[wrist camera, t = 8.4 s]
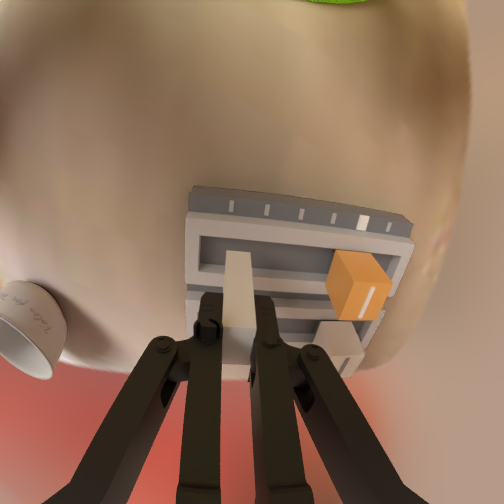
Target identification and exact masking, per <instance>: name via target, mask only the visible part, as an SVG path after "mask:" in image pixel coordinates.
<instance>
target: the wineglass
mask: <svg viewBox="0 0 504 504" xmlns="http://www.w3.org/2000/svg"><path fill="white" fill-rule="evenodd" d="M308 1H312V2H323V3H335V4H346V3H357V2H364V1H367V0H308Z"/></svg>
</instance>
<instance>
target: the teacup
mask: <svg viewBox="0 0 504 504" xmlns="http://www.w3.org/2000/svg"><path fill="white" fill-rule="evenodd" d="M66 337H67V326H66V322H65V319H64V317H63V315H62V312H61V310H60V308H59V306H58V304H57V302H56V301H55V300H54V298H53V297H52V296H51V295H50V294H49V293H48V292H47V291H46V290H44V289H43V288H41V287H40V286H38V285H36V284H33V283H30V282H25V281H12V282H9V283H8V284H6V285H5V286H4V287H3V288H2V289H1V290H0V354H1V355H2V356H3V357H4V358H6V359H7V360H8V361H9V362H10V363H11V364H13V365H14V366H15V367H17V368H18V369H20V370H21V371H23V372H25V373H27V374H29V375H31V376H33V377H36V378H39V379H50V378H51V377H52V376H53V374H54V368H55V366H56V364H57V362H58V359H59V357H60V355H61V352H62V350H63V347H64V345H65V342H66Z"/></svg>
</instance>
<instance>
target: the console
mask: <svg viewBox="0 0 504 504" xmlns="http://www.w3.org/2000/svg"><path fill="white" fill-rule="evenodd" d="M412 227H413V223H411V222H410V221H409V220H408V219H407V218H405V217H404V216H403V215H400V214H395V213H390V212H385V211H380V210H374V209H369V208H363V207H358V206H352V205H346V204H340V203H334V202H327V201H321V200H314V199H307V198H300V197H293V196H285V195H277V194H269V193H261V192H252V191H242V190H233V189H222V188H211V187H199V186H194V187H193V188H192V190H191V192H190V194H189V211H188V214H187V216H186V219H185V283H186V284H187V294H186V298H185V314H186V339H189V338H191V337H192V336H193V335H194V333H193V325H194V323H195V321H196V320H198V313H199V307H200V300H201V297H202V295H203V294H204V293H205V292H216V293H223V285H224V273H225V262H226V251H227V250H229V251H241V252H250V253H251V266H252V278H253V290H254V295H266V296H270V297H271V299H272V300H273V301H274V305H275V311H276V317H277V323H278V329H279V335H280V337H281V338H282V339H283V341H284V342H285V343H286V344H288V345H290V346H293V347H297V348H302V347H303V346H304V345H307V344H312V343H313V340H314V338H315V334H314V330H315V327H316V325H317V322H318V320H338V317H337V315H336V312H335V310H334V307H333V305H332V302H331V300H330V297H329V295H328V292H327V290H326V288H325V282H326V279H327V276H328V272H327V267H328V263H329V260H330V257H331V253H332V250H346V251H355V252H364V253H371V254H372V256H373V257H374V258H375V260H376V261H377V262H378V264H379V265H380V266H381V268H382V269H383V270H384V272H385V273H386V275H387V276H388V277H389V279H390V280H391V282H392V283H393V285H392V287H391V290H390V292H389V294H388V296H387V297H393V296H394V293H395V291H396V289H397V287H398V285H399V283H400V280H401V278H402V276H403V274H404V271H405V269H406V267H407V264H408V262H409V259H410V257H411V254H412V252H413V249H414V247H415V244H414V243H413V242H412V241H411V240H410V239H409V235H410V232H411V230H412ZM385 312H386V309H385V307H384V306H383V307H382V309H381V311H380V313H379V315H378V317H377V319H376V320H343V321H352V324H353V326H354V328H355V331H356V333H357V335H358V338H359V340H360V343H361V345H362V347H363V349H366V347H367V346H368V344H369V342H370V340H371V338H372V337H373V335H374V333H375V331H376V329H377V327H378V326H379V324H380V322H381V320H382V318H383V316H384V314H385Z"/></svg>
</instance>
